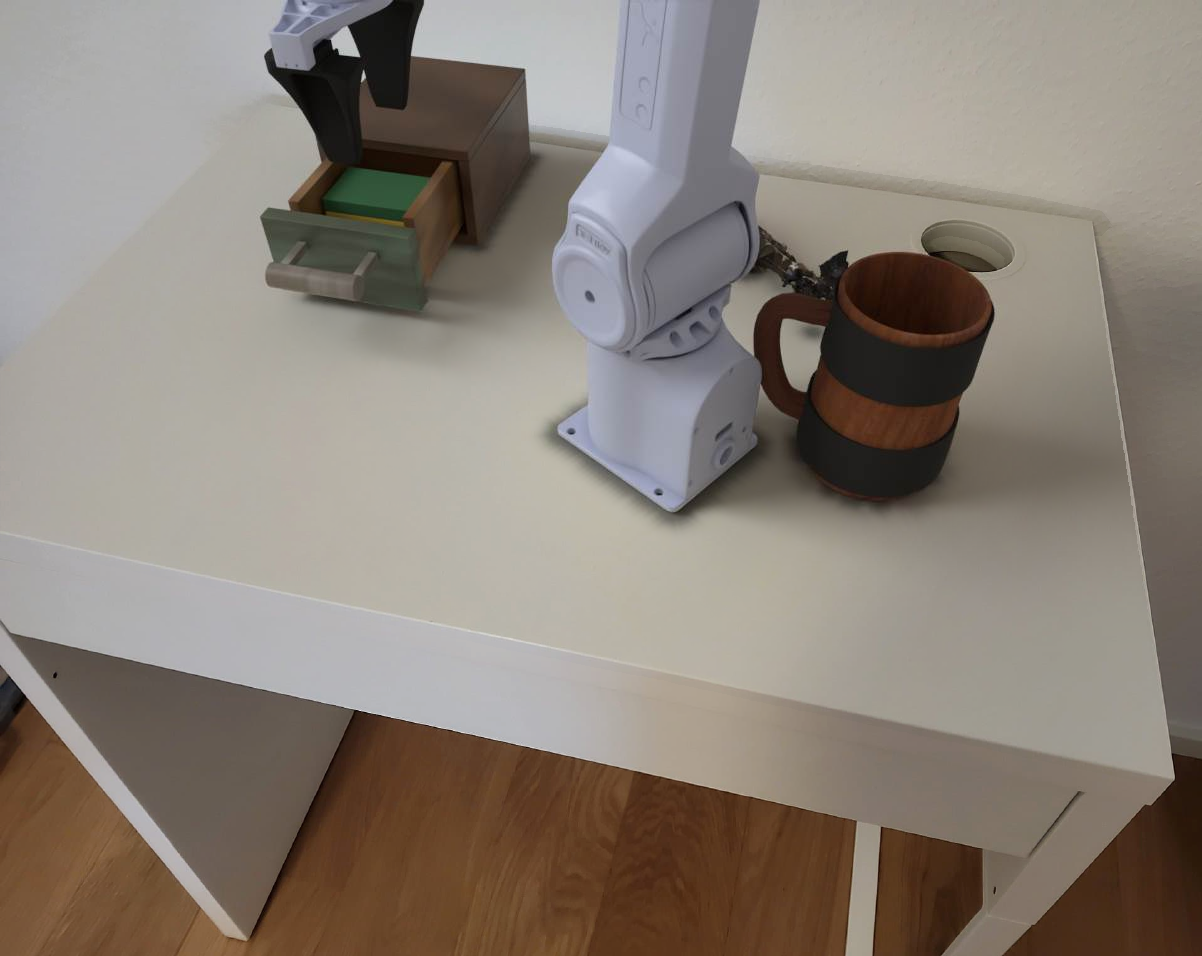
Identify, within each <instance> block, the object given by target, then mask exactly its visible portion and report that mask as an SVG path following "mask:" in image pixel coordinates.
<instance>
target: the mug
mask: <svg viewBox="0 0 1202 956" xmlns="http://www.w3.org/2000/svg"><path fill="white" fill-rule="evenodd" d="M995 316H996V315H995V306H994V302H993V300H992V298H991V295H990V293H989V291H988V288H986V287H985V285H984V284H983V283H982V282H981V281H980V280H979V279H978V278H977V277H976V276H975V275H974V274H972V273H971V272H970V271H968V270H967V269H965V268H963V267H962V266H959V265H957V264H955V263H954V262H951V261H949V260H946V259H943V258H940V257H937V256H933V255H929V254H924V253H918V252H913V251H911V252H909V251H887V252H878V253H874V254H871V255H870V254H869V255H867V256H864V257H862V258H860V259H857V260H856V261H854V262H852V264H849V266H848V268H847V269H846V270H845V272H844V273H843V274H842V275H841V276H840V277H839V279H838V280H837V283H836V287H835V292H834V297H833V300H825V298H821V299H818V298H814V297H811V296H807V295H803V294H798V293H794V292H785V293H783V292H782V293H778V294H777V295H775V296H772V297H771V298H770V299H768V300H767V301H766V302H764V304H763V305H762V306H761V308H760V310H759V311H758V313H757V315H756V318H755V321H754V326H753V336H752V338H753V339H752V340H753V348H752V349H753V356H754V357H755V358H756V359H757V360H758V361H759V362H760V364H761V369H762V378H761V385H760V387H761V388H762V390H763V392H764V394H765V395H766V397H767V399H768V400H769V401H770V403H771V404H772V405H773V406H774V407H775V408H776V409H777V410H778V411H779V412H781V413H782V414H784V415H786V416H787V417H791V418H793V419H795V420H798V422H797V427H796V431H795V441H796V446H797V449H798V452H799V455H800V456H801V458H802V460H803V462H804V463H805V464H806V466H807V468H808V469H809V470H810V471H811V473H812V474H813V475H814V476H815V478H816V479H818V480H819V481H820V482H821V483H823V484H824V485H825V486H826V487H829V488H830V489H831V490H833V491H835V492H837V493H840V494H842V495H844V496H847V497H850V498H854V499H857V500H862V501H867V502H868V501H869V502H889V501H896V500H899V499H902V498H906V497H908V496H910V495H913V494H915V493H918V492H919V491H922V490H923V489H926V488H927V487H928V486H929V485H931V484H932V483H933V482H934V481H935V480H936V479H937V478H938V476H939V475H940V473H941V471H942V470H943V467H944V465H945V462H946V460H947V457H948V455H949V452H950V450H951V448H952V443H953V440H954V436H955V433H956V429H957V426H958V422H959V418H960V403H961V400H962V398H963V394H964V393H965V391H967V390H968V389H969V387H970V386H971V384H972V382H973V380H974V378H975V376H976V375H975V374H976V371H977V368H978V366H979V363H980V360H981V356H982V354H983V351H984V348H985V346H986V342H987V339H988V338H989V337H988V336H989V334H990V331H991V329H992V326H993V324H994V321H995ZM787 319H788V320H793V321H798V322H801V323H804V324H805V323H806V324H809V325H814V326H820V327H824V331H823V335H822V336H821V340H820V345H819V349H820V350H819V351H820V355H819V359H818V363H817V367H816V370H815V371H814V372H813V373H812V375H811V376H810V378H809V382H808V385H807V389H806V391H802V390H799V389H796V388H795V387H794V386H793V385H792V384H791V383H790V381H789V378H788V376H787V374H786V370H785V365H784V362H783V356H782V350H781V349H782V348H781V331H782V330H781V329H782V324H783V321H784V320H787Z"/></svg>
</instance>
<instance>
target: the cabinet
mask: <svg viewBox="0 0 1202 956" xmlns="http://www.w3.org/2000/svg"><path fill="white" fill-rule="evenodd" d="M526 75H527V74H526V68H522V67H514V66H504V65H496V64H488V63H487V64H486V63H479V62H478V63H477V62H468V61H461V60H451V59H441V58H434V57H426V56H425V57H424V56H415V55H411V62H410V75H409V91H408V101H407V106H406V108H405V109H404V110H398V109H390V108H381V107H376V105H375V103H374V101H373V98H372V96H371V93H370V90H369V87H368V84H367V80H366V77H365V78H364V79H363V80H361V86H360V98H359V111H360V123H361V132H362V143H363V148H367V149H374V150H382V151H390V152H397V153H405V154H413V155H420V156H428V157H436V158H443V159H451V160H458V161H459V169H460V177H461V185H462V194H463V202H464V210H465V218H466V221H465V222H464V224H463V226H462V227H461V229H460V230H459V232H458V233H457V235H456V237H455V238H454V240H453V241H452V243H456V244H457V243H458V244H465V245H470V246H471V245H472V246H479V245H480V243H481V241H482V240H483V239H484V237H485V235H486V233H487V231H488V230H489V228H490V226H491V224H492V223H493V222H494V221H495V218H496V216H497V215H498V213H499V212H500V210H501V208H502V207H503V205H504V203H505V201H506V200H507V198H508V196H509V194H510V193H511V191H512V190H513V188H514V186H515V185H516V183H517V181H518V180H519V178H520V176H521V175H522V173H523V171H524V169H525V167H526V166H527V165H528V163H529V161H530V159H531V143H530V141H531V140H530V126H529V123H530V122H529V109H528V107H529V106H528V92H527V91H528V90H527V79H526V78H527V77H526ZM314 136H315V140H316V141H315V142H316V146H317V149H318V154H319V158H320V162H321V163H322V162H323V161H324V160H325V159H326V157H327V156H326V154H325V152H324V151H323V149H322V147H321V145H320V143H319V141H318V139H317V137H316V135H315V134H314ZM321 163H320V164H321Z"/></svg>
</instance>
